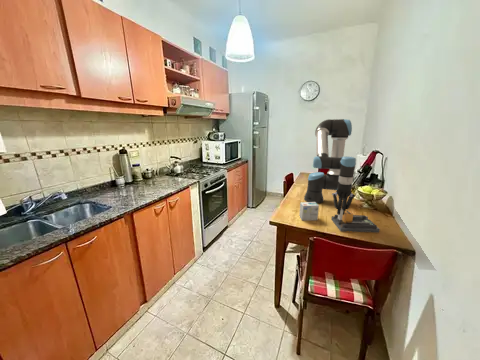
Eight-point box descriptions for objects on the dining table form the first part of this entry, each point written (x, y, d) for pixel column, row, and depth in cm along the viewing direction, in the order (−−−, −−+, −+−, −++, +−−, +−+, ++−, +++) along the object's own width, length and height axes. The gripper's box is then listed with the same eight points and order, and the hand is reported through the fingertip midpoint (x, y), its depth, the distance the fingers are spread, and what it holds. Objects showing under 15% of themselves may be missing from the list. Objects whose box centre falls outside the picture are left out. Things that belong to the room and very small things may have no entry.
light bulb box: (313, 216, 139) (315, 201, 136) (317, 220, 133) (319, 205, 130) (298, 216, 139) (299, 201, 136) (301, 220, 133) (303, 205, 130)
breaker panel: (331, 219, 134) (332, 213, 133) (365, 220, 132) (366, 214, 131) (340, 231, 120) (341, 224, 118) (379, 232, 118) (380, 225, 117)
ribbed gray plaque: (334, 216, 133) (334, 214, 132) (366, 217, 131) (366, 215, 131) (343, 227, 119) (343, 224, 119) (379, 228, 118) (379, 226, 117)
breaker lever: (342, 219, 128) (343, 210, 126) (348, 220, 128) (350, 210, 126) (345, 223, 124) (346, 213, 122) (351, 223, 123) (353, 213, 121)
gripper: (336, 184, 116) (331, 221, 122) (359, 185, 115) (353, 222, 121) (331, 181, 123) (327, 216, 129) (353, 181, 122) (348, 216, 129)
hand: (339, 219), depth 125 cm, fingers closed
